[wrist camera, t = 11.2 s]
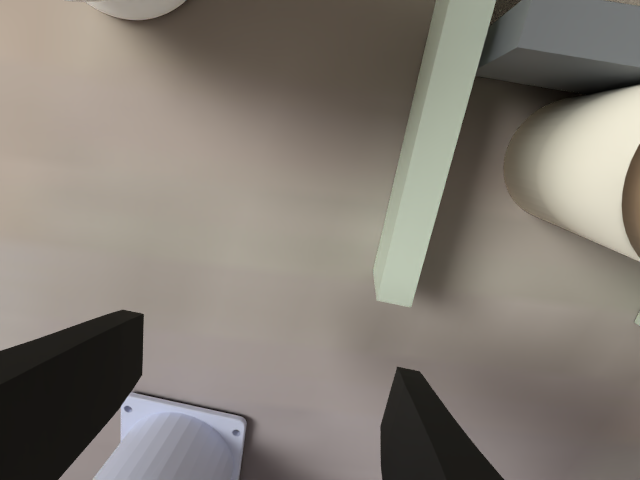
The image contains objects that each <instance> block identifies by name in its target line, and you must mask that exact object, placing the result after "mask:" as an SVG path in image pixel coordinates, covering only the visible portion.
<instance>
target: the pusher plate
mask: <svg viewBox="0 0 640 480" xmlns="http://www.w3.org/2000/svg"><path fill="white" fill-rule="evenodd" d="M475 76H479V77H485V78H491V79H497V80H503V81H508V82H514V83H520V84H526V85H532V86H538V87H544V88H550V89H556V90H562V91H567V92H573V93H579V94H585V95H588V94H593V93H598V92H604V91H609V90H614V89H619V88H625V87H630V86H635V85H640V6H636V5H630V4H623V3H617V2H611V1H604V0H521V1H520V2H519V3H518V4H516V5H515V6H514V7H513V8H512V9H510V10H509V11H508V12H507V13H505V14H504V15H503V16H502V17H500V18H499V19H498V20H497V21H496V22H494V23H493V24H492V25H491V26H489V28H488V32H487V35H486V39H485V42H484V46H483V50H482V53H481V57H480V60H479V64H478V68H477V71H476V75H475Z"/></svg>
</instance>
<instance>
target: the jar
mask: <svg viewBox="0 0 640 480" xmlns="http://www.w3.org/2000/svg"><path fill="white" fill-rule="evenodd" d="M66 1H76V2H86V3H87V4H89V5H90V6H92V7H93V8H95V9H97V10H99V11H101V12H103V13H105V14H108V15H110V16H113V17H117V18H121V19H127V20H146V19H152V18H156V17H159V16H162V15H164V14H167V13H169V12H171V11H172V10H174V9H176V8H177V7H179V6H180V5H181V4H183V3H184V2H185V1H186V0H66Z"/></svg>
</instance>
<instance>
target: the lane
mask: <svg viewBox="0 0 640 480" xmlns="http://www.w3.org/2000/svg"><path fill="white" fill-rule="evenodd" d="M495 3H496V0H436V3H435V7H434V11H433V16H432V20H431V24H430V28H429V33H428V37H427V41H426V46H425V50H424V54H423V59H422V63H421V67H420V71H419V76H418V80H417V84H416V89H415V93H414V97H413V101H412V106H411V110H410V114H409V119H408V123H407V127H406V131H405V136H404V140H403V144H402V149H401V153H400V157H399V161H398V166H397V170H396V174H395V179H394V183H393V187H392V192H391V196H390V200H389V204H388V209H387V213H386V217H385V222H384V226H383V230H382V234H381V239H380V243H379V247H378V252H377V256H376V260H375V264H374V269H373V275H374V283H375V291H376V300H377V301H381V302H386V303H391V304H396V305H401V306H406V307H411V306H412V302H413V299H414V295H415V291H416V288H417V284H418V281H419V277H420V273H421V270H422V266H423V262H424V259H425V255H426V252H427V248H428V244H429V241H430V237H431V234H432V230H433V226H434V223H435V219H436V216H437V212H438V208H439V205H440V201H441V198H442V194H443V190H444V187H445V183H446V179H447V176H448V172H449V169H450V165H451V161H452V158H453V154H454V151H455V147H456V143H457V140H458V136H459V133H460V129H461V125H462V122H463V118H464V115H465V111H466V107H467V104H468V100H469V96H470V93H471V89H472V86H473V82H474V78H475V75H476V71H477V68H478V64H479V60H480V57H481V53H482V50H483V46H484V42H485V39H486V35H487V32H488V28H489V24H490V21H491V17H492V13H493V10H494V6H495ZM635 323H636V324H638V325H639V326H640V312H639V314H638V316H637V318H636V320H635Z"/></svg>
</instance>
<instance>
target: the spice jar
mask: <svg viewBox="0 0 640 480" xmlns="http://www.w3.org/2000/svg"><path fill="white" fill-rule="evenodd" d="M503 170H504V180H505V184H506V187H507V190H508V192H509V194H510V196H511V197H512V199H513V200H514V201H515V202H516V203H517V205H518V206H519V207H521V208H522V209H523V210H524V211H526V212H528V213H530V214H531V215H534V216H536V217H538V218H541V219H543V220H545V221H547V222H550V223H552V224H554V225H557V226H559V227H561V228H563V229H566V230H568V231H570V232H573V233H575V234H577V235H580V236H582V237H584V238H586V239H589V240H591V241H593V242H596V243H598V244H600V245H602V246H605V247H607V248H609V249H612V250H614V251H616V252H619V253H621V254H623V255H625V256H628V257H630V258H632V259H635V260H637V261H639V262H640V85H635V86H630V87H625V88H619V89H614V90H609V91H604V92H598V93H593V94H588V95H583V96H577V97H572V98H567V99H562V100H559V101H555V102H553V103H551V104H548V105H546V106H544V107H543V108H541V109H539V110H538V111H536V112H535V113H533V114H532V115H531V116H530V117H529V118H527V119H526V120H525V121H524V122H523V123H522V125H521V126H520V127H519V128H518V129H517V131H516V132H515V134H514V135H513V137H512V139H511V141H510V143H509V145H508V148H507V150H506V154H505V158H504V166H503Z"/></svg>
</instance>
